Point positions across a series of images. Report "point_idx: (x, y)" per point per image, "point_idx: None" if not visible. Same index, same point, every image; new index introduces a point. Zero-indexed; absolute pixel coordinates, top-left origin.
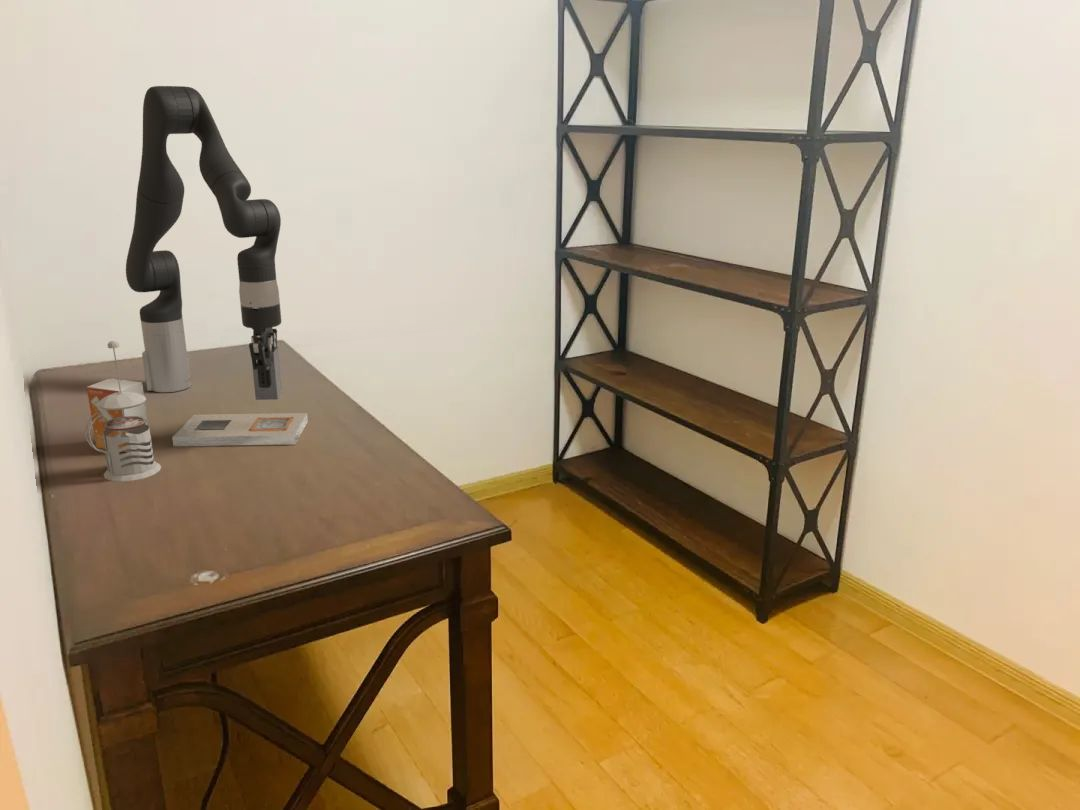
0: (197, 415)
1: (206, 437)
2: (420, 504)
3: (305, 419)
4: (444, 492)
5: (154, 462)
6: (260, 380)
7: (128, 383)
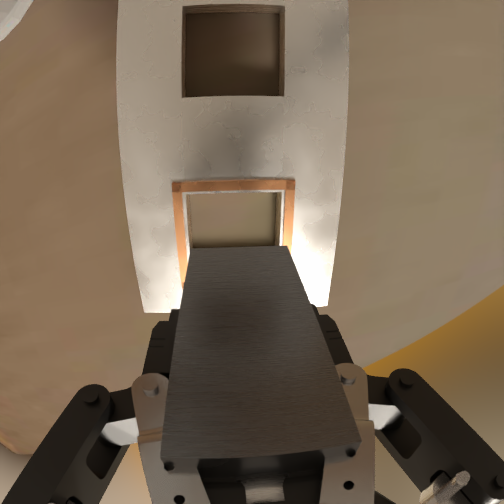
0: None
1: (117, 68)
2: (16, 428)
3: None
4: None
5: (6, 19)
6: (151, 343)
7: None
